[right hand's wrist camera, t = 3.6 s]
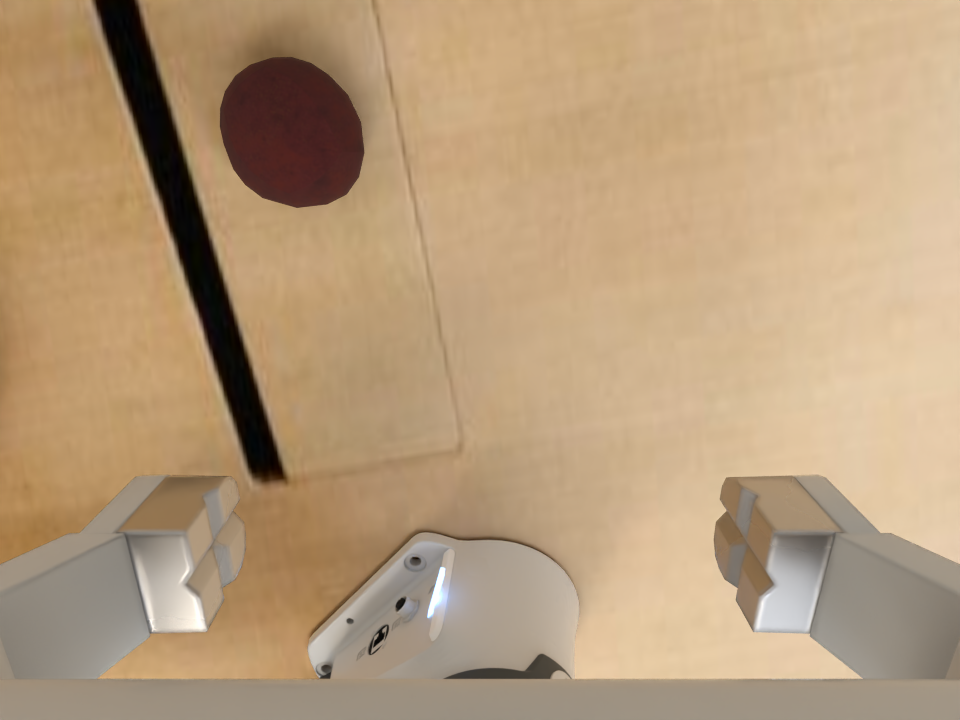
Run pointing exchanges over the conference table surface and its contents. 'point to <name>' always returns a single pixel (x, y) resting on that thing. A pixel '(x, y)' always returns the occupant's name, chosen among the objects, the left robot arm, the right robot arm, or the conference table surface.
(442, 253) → the conference table surface
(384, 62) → the conference table surface
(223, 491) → the right robot arm
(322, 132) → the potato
